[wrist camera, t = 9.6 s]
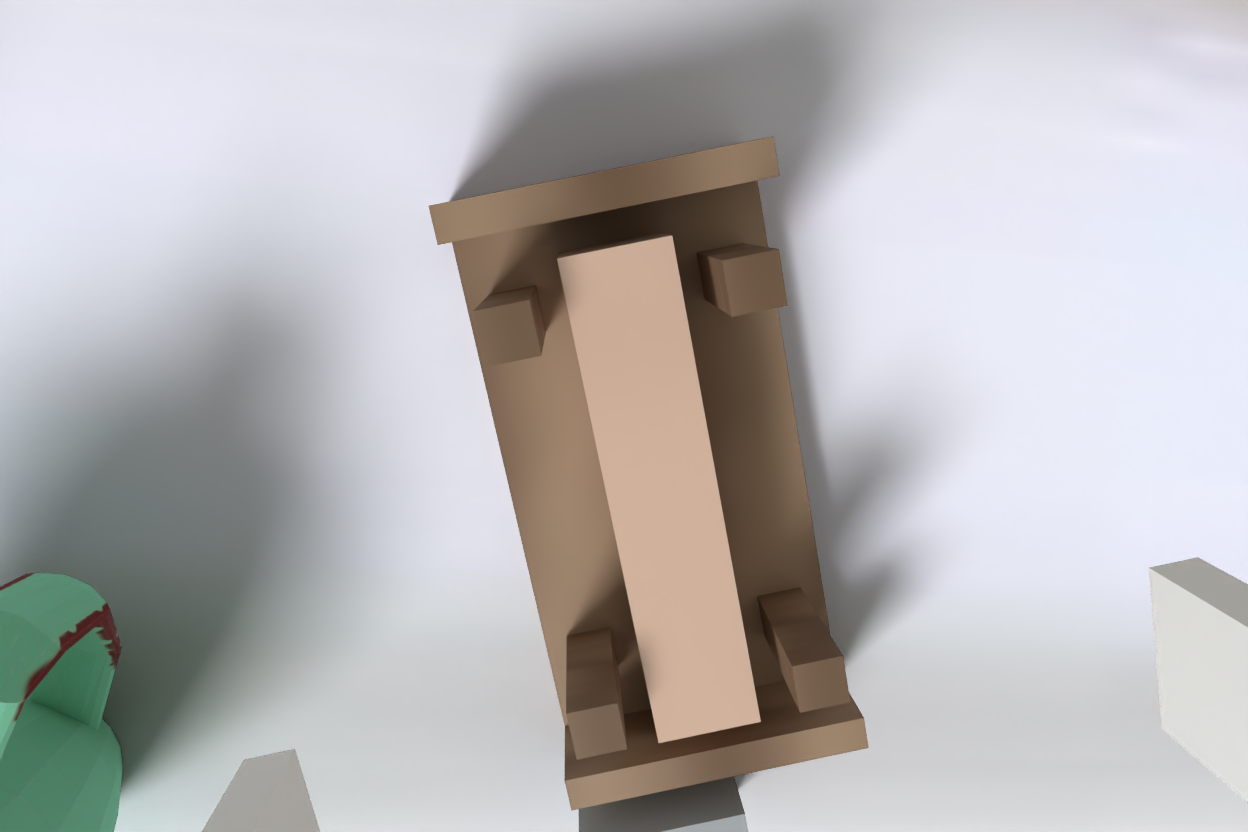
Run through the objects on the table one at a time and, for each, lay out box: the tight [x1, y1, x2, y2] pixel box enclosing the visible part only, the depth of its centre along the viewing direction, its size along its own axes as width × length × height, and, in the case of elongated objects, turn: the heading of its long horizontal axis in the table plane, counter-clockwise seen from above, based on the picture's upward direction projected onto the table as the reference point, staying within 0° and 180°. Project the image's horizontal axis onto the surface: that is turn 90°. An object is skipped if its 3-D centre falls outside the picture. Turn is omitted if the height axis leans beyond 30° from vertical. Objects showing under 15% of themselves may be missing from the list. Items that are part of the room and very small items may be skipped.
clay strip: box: [557, 233, 761, 743], centre depth 27 cm, size 3×14×4 cm, turn 11°
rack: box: [429, 137, 868, 810], centre depth 27 cm, size 9×18×6 cm, turn 11°
